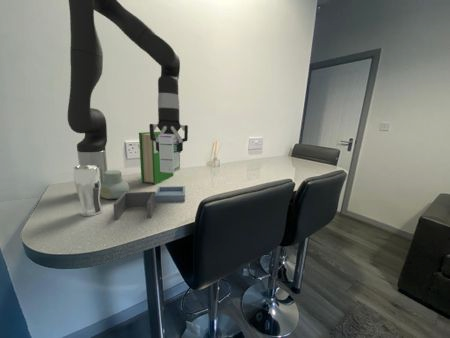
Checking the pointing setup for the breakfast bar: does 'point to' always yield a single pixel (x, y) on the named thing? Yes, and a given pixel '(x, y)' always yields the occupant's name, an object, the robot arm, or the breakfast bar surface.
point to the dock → (135, 202)
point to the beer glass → (88, 188)
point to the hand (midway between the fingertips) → (169, 152)
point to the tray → (170, 194)
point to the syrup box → (169, 153)
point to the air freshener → (113, 185)
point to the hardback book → (150, 160)
